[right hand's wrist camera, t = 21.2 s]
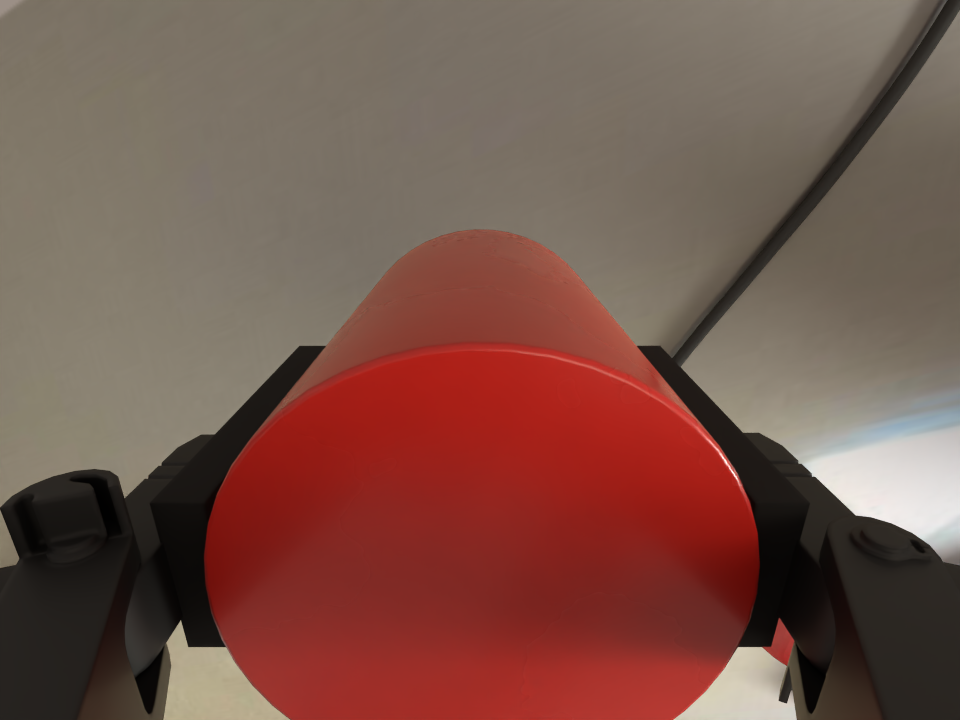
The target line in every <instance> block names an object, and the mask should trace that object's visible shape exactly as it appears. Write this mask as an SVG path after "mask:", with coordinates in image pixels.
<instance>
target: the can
mask: <svg viewBox="0 0 960 720" xmlns="http://www.w3.org/2000/svg"><path fill="white" fill-rule="evenodd" d="M204 567H205V586H206V590H207V595H208V600H209V604H210V609H211V613H212V616H213V618H214V621H215V623H216V626H217V629H218V631H219V634H220V636H221V639H222V641H223V642H224V644H225V646H226V648H227V649H228V651H229V653H230V655H231V656H232V658H233V660H234V662H235V663H236V665H237V666H238V667H239V668H240V670H241V671H242V672H243V674H244V675H245V676H246V678H247V679H248V680H249V681H250V683H251V684H252V685H253V686H254V687H255V688H256V689H257V690H258V691H259V692H260V693H261V694H262V695H263V696H264V697H265V698H266V699H267V701H268V702H269V703H270V704H271V705H272V706H274V707H275V708H276V709H277V710H279V711H280V712H281V713H282V714H284V715H285V716H286V717H288V718H289V719H290V720H673V719H674V718H676V717H677V716H678V715H680V714H681V713H683V712H684V711H685V710H686V709H687V708H688V707H689V706H690V705H691V704H693V703H694V702H695V701H696V700H697V699H698V698H699V697H700V696H701V695H702V694H703V693H704V692H705V691H706V690H707V689H708V688H709V687H710V685H711V684H712V683H713V682H714V681H715V679H716V678H717V677H718V676H719V675H720V673H721V672H722V671H723V670H724V668H725V667H726V665H727V663H728V662H729V660H730V659H731V657H732V655H733V654H734V652H735V651H736V649H737V647H738V646H739V644H740V641H741V639H742V637H743V634H744V632H745V630H746V628H747V625H748V623H749V621H750V618H751V614H752V610H753V606H754V603H755V599H756V595H757V589H758V579H759V569H760V559H759V545H758V532H757V528H756V524H755V520H754V516H753V512H752V508H751V504H750V501H749V499H748V496H747V494H746V492H745V490H744V487H743V485H742V483H741V480H740V478H739V476H738V474H737V472H736V470H735V469H734V467H733V466H732V464H731V463H730V461H729V460H728V458H727V457H726V455H725V454H724V452H723V451H722V449H721V448H720V446H719V445H718V443H717V442H716V441H715V440H714V439H713V437H712V436H711V435H710V434H709V433H708V431H707V430H706V429H705V428H704V427H703V425H702V424H701V423H700V422H699V421H698V419H697V418H696V417H695V416H694V415H693V413H692V412H691V411H690V410H689V409H688V407H687V406H686V405H685V404H684V403H683V401H682V400H681V399H680V398H679V397H678V395H677V394H676V393H675V392H674V391H673V389H672V388H671V387H670V386H669V385H668V383H667V382H666V381H665V380H664V379H663V377H662V376H661V375H660V374H659V373H658V371H657V370H656V369H655V368H654V367H653V365H652V364H651V363H650V362H649V361H648V359H647V358H646V357H645V356H644V355H643V353H642V352H641V351H640V350H639V349H638V347H637V346H636V345H635V344H634V343H633V341H632V340H631V339H630V338H629V337H628V335H627V334H626V333H625V332H624V330H623V329H622V328H621V327H620V326H619V324H618V323H617V322H616V321H615V320H614V318H613V317H612V316H611V315H610V314H609V312H608V311H607V310H606V309H605V308H604V306H603V305H602V304H601V303H600V302H599V300H598V299H597V298H596V297H595V296H594V294H593V293H592V292H591V291H590V290H589V288H588V287H587V286H586V285H585V284H584V282H583V281H582V280H581V279H580V278H579V276H578V275H577V274H576V273H575V272H574V271H573V270H572V269H571V267H570V266H569V265H568V264H567V263H566V262H565V261H563V260H562V259H561V258H560V257H559V256H557V255H556V254H555V253H554V252H552V251H550V250H549V249H547V248H546V247H544V246H542V245H541V244H539V243H537V242H534V241H532V240H530V239H528V238H525V237H522V236H519V235H516V234H512V233H509V232H503V231H496V230H466V231H458V232H454V233H450V234H446V235H442V236H439V237H437V238H434V239H432V240H429V241H427V242H425V243H423V244H421V245H420V246H418V247H416V248H414V249H413V250H411V251H410V252H408V253H407V254H406V255H404V256H403V257H402V258H401V259H399V260H398V261H397V262H396V263H395V264H394V265H393V266H392V267H391V268H390V269H389V270H388V271H387V272H386V274H385V275H384V276H383V277H382V279H381V280H380V281H379V282H378V283H377V285H376V286H375V287H374V288H373V290H372V291H371V292H370V293H369V294H368V296H367V297H366V298H365V299H364V301H363V302H362V303H361V304H360V305H359V307H358V308H357V309H356V310H355V312H354V313H353V314H352V315H351V316H350V318H349V319H348V320H347V321H346V323H345V324H344V325H343V326H342V327H341V329H340V330H339V331H338V332H337V334H336V335H335V336H334V337H333V338H332V340H331V341H330V342H329V343H328V345H327V346H326V347H325V348H324V349H323V351H322V352H321V353H320V354H319V356H318V357H317V358H316V359H315V360H314V362H313V363H312V364H311V365H310V367H309V368H308V369H307V370H306V371H305V373H304V374H303V375H302V376H301V378H300V379H299V380H298V381H297V382H296V384H295V385H294V386H293V387H292V389H291V390H290V391H289V392H288V393H287V395H286V396H285V397H284V398H283V400H282V401H281V402H280V403H279V404H278V406H277V407H276V408H275V409H274V411H273V412H272V413H271V414H270V415H269V417H268V418H267V419H266V420H265V422H264V423H263V424H262V425H261V426H260V428H259V429H258V430H257V431H256V433H255V434H254V435H253V436H252V438H251V439H250V440H249V442H248V443H247V444H246V446H245V447H244V448H243V450H242V451H241V453H240V454H239V455H238V457H237V458H236V459H235V461H234V462H233V464H232V465H231V467H230V469H229V471H228V473H227V475H226V477H225V479H224V481H223V483H222V485H221V487H220V489H219V491H218V493H217V495H216V499H215V502H214V505H213V508H212V512H211V515H210V518H209V522H208V527H207V535H206V543H205V551H204Z"/></svg>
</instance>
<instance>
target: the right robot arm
mask: <svg viewBox="0 0 960 720" xmlns="http://www.w3.org/2000/svg"><path fill="white" fill-rule="evenodd" d="M959 10H960V0H948V1H947V2H946V4H945V6H944V7H943V9H942V10H941V12H940V14H939V15H938V17H937V19H936V20H935V22H934V23H933V25H932V26H931V28H930V30H929V31H928V33H927V34H926V36H925V37H924V39H923V40H922V42H921V44H920V45H919V47H918V48H917V50H916V51H915V53H914V54H913V56H912V57H911V59H910V60H909V62H908V63H907V65H906V66H905V67H904V69H903V70H902V72H901V73H900V75H899V76H898V78H897V79H896V80H895V82H894V83H893V85H892V86H891V88H890V89H889V90H888V92H887V93H886V95H885V96H884V97H883V99H882V100H881V101H880V103H879V104H878V106H877V107H876V108H875V110H874V111H873V112H872V114H871V115H870V116H869V118H868V119H867V120H866V122H865V123H864V124H863V126H862V127H861V128H860V130H859V131H858V132H857V133H856V135H855V136H854V137H853V139H852V140H851V141H850V143H849V144H848V145H847V147H846V148H845V149H844V151H843V152H842V153H841V154H840V156H839V157H838V158H837V160H836V161H835V162H834V164H833V165H832V166H831V167H830V169H829V170H828V171H827V173H826V174H825V175H824V176H823V178H822V179H821V180H820V181H819V183H818V184H817V185H816V186H815V188H814V189H813V190H812V191H811V193H810V194H809V195H808V196H807V197H806V199H805V200H804V201H803V202H802V204H801V205H800V206H799V207H798V208H797V210H796V211H795V212H794V213H793V214H792V216H791V217H790V218H789V219H788V220H787V221H786V223H785V224H784V225H783V226H782V227H781V229H780V230H779V231H778V232H777V233H776V235H775V236H774V237H773V238H772V239H771V240H770V242H769V243H768V244H767V245H766V246H765V248H764V249H763V250H762V251H761V252H760V254H759V255H758V256H757V257H756V258H755V260H754V261H753V262H752V263H751V264H750V266H749V267H748V268H747V269H746V271H745V272H744V273H743V274H742V275H741V276H740V278H739V279H738V280H737V281H736V282H735V284H734V285H733V286H732V287H731V288H730V289H729V291H728V292H727V293H726V294H725V295H724V297H723V298H722V299H721V300H720V301H719V302H718V304H717V305H716V306H715V307H714V308H713V309H712V311H711V312H710V313H709V314H708V315H707V316H706V318H705V319H704V320H703V321H702V322H701V324H700V325H699V326H698V327H697V328H696V330H695V331H694V332H693V333H692V335H691V336H690V337H689V338H688V339H687V341H686V342H685V343H684V344H683V346H682V347H681V348H680V349H679V351H678V352H677V353H676V354H675V356H674V357H673V358H671V357H670V356H669V355H668V354H667V353H666V352H665V351H664V350H663V349H662V348H661V346H637V347H638V349H639V350H640V351H641V352H642V353H643V355H644V356H645V357H646V358H647V359H648V361H649V362H650V363H651V364H652V365H653V367H654V368H655V369H656V370H657V371H658V373H659V374H660V375H661V376H662V377H663V379H664V380H665V381H666V382H667V383H668V385H669V386H670V387H671V388H672V389H673V391H674V392H675V393H676V394H677V395H678V397H679V398H680V399H681V400H682V401H683V403H684V404H685V405H686V406H687V407H688V409H689V410H690V411H691V412H692V413H693V415H694V416H695V417H696V418H697V419H698V421H699V422H700V423H701V424H702V425H703V427H704V428H705V429H706V430H707V431H708V433H709V434H710V435H711V436H712V437H713V439H714V440H715V441H716V442H717V443H718V445H719V446H720V448H721V449H722V451H723V452H724V454H725V455H726V457H727V458H728V460H729V461H730V463H731V464H732V466H733V467H734V469H735V470H736V472H737V474H738V476H739V478H740V480H741V483H742V485H743V487H744V490H745V492H746V494H747V496H748V499H749V501H750V504H751V508H752V512H753V516H754V520H755V524H756V528H757V532H758V545H759V559H760V569H759V579H758V589H757V595H756V599H755V603H754V606H753V610H752V614H751V618H750V621H749V623H748V625H747V628H746V630H745V632H744V634H743V637H742V639H741V641H740V644H739V646H738V647H771V646H772V642H773V639H774V635H775V631H776V627H777V624H778V620H779V618H780V620H781V621H782V623H783V624H784V626H785V627H786V629H787V630H788V632H789V633H790V635H791V637H792V638H793V640H794V644H793V647H792V651H791V654H790V658H789V661H788V664H787V668H786V671H785V675H784V678H783V682H782V685H781V689H780V695H779V701H781V702H784V703H787V701H788V698H789V694H790V691H791V690H793V696H794V703H795V710H796V717H797V720H960V566H959V565H954V564H949V563H944V562H943V561H942V560H941V558H940V557H939V556H938V554H937V553H936V552H935V551H934V550H933V549H932V548H931V546H930V545H929V544H927V543H926V542H924V541H923V540H921V539H920V538H918V537H917V536H916V535H914V534H913V533H911V532H909V531H906V530H904V529H902V528H900V527H898V526H896V525H894V524H891V523H888V522H885V521H881V520H878V519H874V518H871V517H863V516H856V515H854V514H853V513H852V512H851V511H850V510H849V509H848V508H847V507H846V506H845V505H844V504H843V503H842V502H841V501H840V500H839V499H838V498H837V497H836V496H835V495H834V494H832V493H831V492H830V491H829V490H828V489H827V488H826V487H825V486H824V485H823V484H822V483H821V482H820V481H819V480H818V479H817V478H816V477H812V474H811V473H810V472H809V471H808V470H807V469H806V468H805V467H804V466H803V465H802V464H798V460H797V459H796V458H795V457H794V456H793V455H792V454H790V453H789V452H788V451H787V450H786V449H785V448H784V447H783V446H782V445H780V444H778V443H776V442H775V441H773V440H771V439H769V438H767V437H765V436H764V435H762V434H760V433H743V432H742V431H741V430H740V429H739V428H738V427H737V426H736V425H735V424H734V423H733V422H732V421H731V420H730V419H729V418H728V417H727V416H726V415H725V413H724V412H723V411H722V410H721V409H720V408H719V407H718V406H717V405H716V404H715V403H714V402H713V401H712V400H711V399H710V398H709V397H708V396H707V395H706V394H705V393H704V391H703V390H702V389H701V388H700V387H699V386H698V385H697V384H696V383H695V382H694V381H693V380H692V379H691V378H690V377H689V376H688V375H687V374H686V373H685V372H684V371H683V370H682V368H681V365H682V364H683V363H684V362H685V360H686V359H687V358H688V357H689V355H690V354H691V353H692V352H693V350H694V349H695V348H696V347H697V346H698V344H699V343H700V342H701V341H702V340H703V338H704V337H705V336H706V335H707V334H708V332H709V331H710V330H711V329H712V328H713V326H714V325H715V324H716V323H717V322H718V321H719V319H720V318H721V317H722V316H723V315H724V314H725V313H726V311H727V310H728V309H729V308H730V307H731V306H732V304H733V303H734V302H735V301H736V300H737V299H738V297H739V296H740V295H741V294H742V293H743V292H744V291H745V289H746V288H747V287H748V286H749V285H750V283H751V282H752V281H753V280H754V279H755V278H756V276H757V275H758V274H759V273H760V272H761V270H762V269H763V268H764V267H765V266H766V265H767V263H768V262H769V261H770V260H771V259H772V257H773V256H774V255H775V254H776V253H777V252H778V250H779V249H780V248H781V247H782V246H783V244H784V243H785V242H786V241H787V240H788V239H789V237H790V236H791V235H792V234H793V233H794V232H795V230H796V229H797V228H798V227H799V226H800V225H801V223H802V222H803V221H804V220H805V219H806V217H807V216H808V215H809V214H810V213H811V212H812V210H813V209H814V208H815V207H816V206H817V204H818V203H819V202H820V201H821V200H822V198H823V197H824V196H825V195H826V193H827V192H828V191H829V190H830V189H831V187H832V186H833V185H834V184H835V182H836V181H837V180H838V179H839V177H840V176H841V175H842V174H843V172H844V171H845V170H846V168H847V167H848V166H849V165H850V163H851V162H852V161H853V159H854V158H855V157H856V156H857V154H858V153H859V152H860V150H861V149H862V148H863V147H864V145H865V144H866V143H867V141H868V140H869V139H870V137H871V136H872V135H873V134H874V132H875V131H876V130H877V128H878V127H879V126H880V124H881V123H882V122H883V121H884V119H885V118H886V117H887V115H888V114H889V113H890V111H891V110H892V109H893V107H894V106H895V104H896V103H897V102H898V100H899V99H900V98H901V96H902V95H903V94H904V92H905V91H906V89H907V88H908V87H909V85H910V84H911V82H912V81H913V80H914V78H915V77H916V75H917V74H918V72H919V71H920V70H921V68H922V67H923V65H924V64H925V62H926V61H927V59H928V58H929V56H930V55H931V53H932V52H933V50H934V49H935V47H936V46H937V44H938V43H939V41H940V40H941V38H942V37H943V35H944V34H945V32H946V31H947V29H948V28H949V26H950V24H951V23H952V21H953V20H954V18H955V17H956V15H957V13H958V12H959ZM325 347H326V346H299V347H298V348H297V349H296V350H295V351H294V352H293V353H292V354H291V356H290V357H289V358H288V359H287V360H286V361H285V362H284V363H283V364H282V365H281V366H280V367H279V368H278V369H277V370H276V371H275V372H274V373H273V374H272V375H271V376H270V377H269V379H268V380H267V381H266V382H265V383H264V384H263V385H262V386H261V387H260V388H259V389H258V390H257V391H256V392H255V393H254V394H253V395H252V396H251V397H250V398H249V399H248V401H247V402H246V403H245V404H244V405H243V406H242V407H241V408H240V409H239V410H238V411H237V412H236V413H235V414H234V415H233V416H232V417H231V418H230V419H229V420H228V421H227V423H226V424H225V425H224V426H223V427H222V428H221V429H220V430H219V431H218V432H217V433H216V434H215V435H200V436H198V437H196V438H194V439H192V440H191V441H189V442H187V443H185V444H183V445H182V446H180V447H178V448H177V449H176V450H175V451H174V452H173V453H172V454H171V455H169V456H168V457H167V458H166V459H165V460H164V461H163V462H162V466H158V467H157V468H156V469H155V470H154V471H153V472H152V473H151V474H150V475H149V477H148V479H144V480H143V481H142V482H141V483H140V484H139V485H138V486H137V487H136V488H135V489H134V490H133V491H132V492H131V493H130V494H129V495H128V496H127V497H126V498H125V499H124V495H123V492H122V489H121V485H120V482H119V478H118V476H116V475H115V474H113V473H112V472H110V471H105V470H97V469H91V470H81V471H73V472H69V473H65V474H61V475H57V476H53V477H51V478H48V479H45V480H43V481H40V482H38V483H35V484H33V485H30V486H29V487H27V488H25V489H24V490H22V491H20V492H19V493H17V494H15V495H13V496H12V497H11V498H10V499H9V500H8V501H7V502H5V503H4V504H3V505H2V506H1V507H0V510H1V513H2V515H3V518H4V520H5V523H6V525H7V528H8V530H9V533H10V535H11V538H12V540H13V543H14V546H15V548H16V551H17V553H18V556H19V558H20V559H19V561H18V563H17V564H16V565H14V566H9V567H4V568H0V720H163V718H164V711H165V704H166V698H167V691H168V684H169V677H170V670H171V661H170V654H169V651H168V647H167V644H166V642H167V640H168V639H169V637H170V636H171V634H172V633H173V631H174V630H175V628H176V627H177V625H178V623H179V622H180V620H181V622H182V625H183V629H184V633H185V636H186V640H187V644H188V647H226V646H225V644H224V642H223V641H222V639H221V636H220V634H219V631H218V629H217V626H216V623H215V621H214V618H213V616H212V613H211V609H210V604H209V600H208V595H207V590H206V586H205V567H204V551H205V543H206V535H207V527H208V522H209V518H210V515H211V512H212V508H213V505H214V502H215V499H216V495H217V493H218V491H219V489H220V487H221V485H222V483H223V481H224V479H225V477H226V475H227V473H228V471H229V469H230V467H231V465H232V464H233V462H234V461H235V459H236V458H237V457H238V455H239V454H240V453H241V451H242V450H243V448H244V447H245V446H246V444H247V443H248V442H249V440H250V439H251V438H252V436H253V435H254V434H255V433H256V431H257V430H258V429H259V428H260V426H261V425H262V424H263V423H264V422H265V420H266V419H267V418H268V417H269V415H270V414H271V413H272V412H273V411H274V409H275V408H276V407H277V406H278V404H279V403H280V402H281V401H282V400H283V398H284V397H285V396H286V395H287V393H288V392H289V391H290V390H291V389H292V387H293V386H294V385H295V384H296V382H297V381H298V380H299V379H300V378H301V376H302V375H303V374H304V373H305V371H306V370H307V369H308V368H309V367H310V365H311V364H312V363H313V362H314V360H315V359H316V358H317V357H318V356H319V354H320V353H321V352H322V351H323V349H324V348H325Z"/></svg>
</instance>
